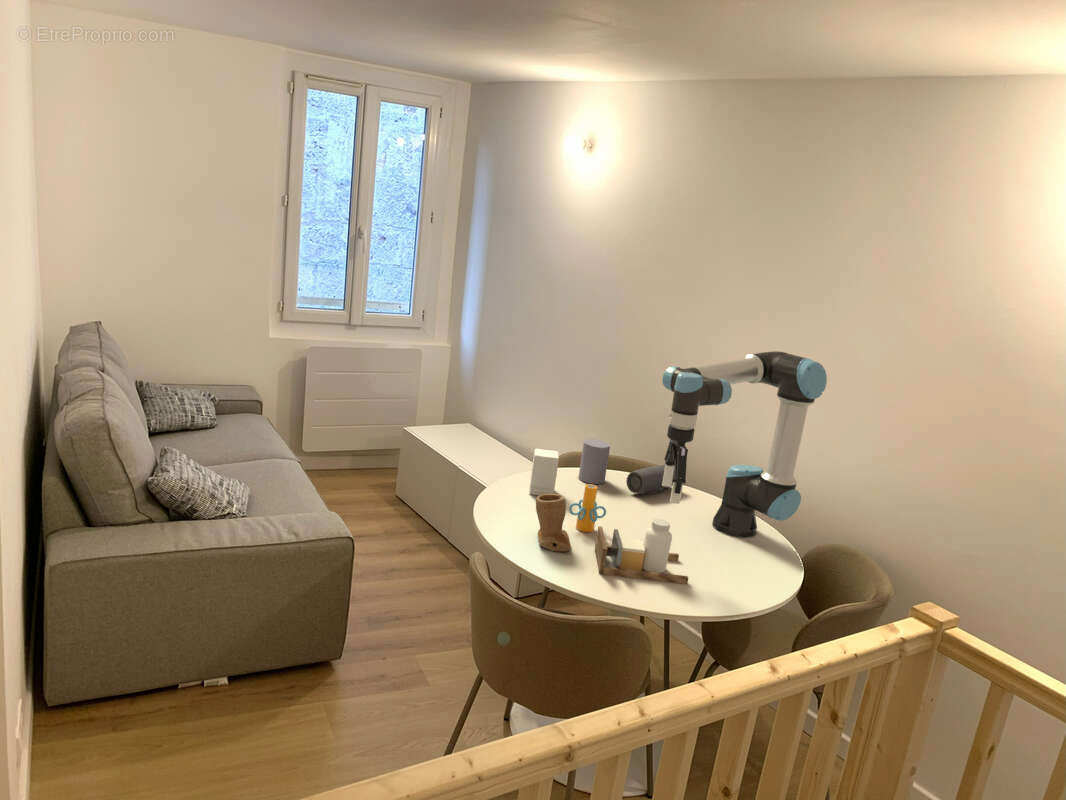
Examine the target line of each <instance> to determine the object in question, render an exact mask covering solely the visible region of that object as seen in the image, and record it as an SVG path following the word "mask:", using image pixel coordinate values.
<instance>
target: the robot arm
mask: <svg viewBox="0 0 1066 800" xmlns="http://www.w3.org/2000/svg"><path fill="white" fill-rule="evenodd" d="M827 376H828V375H827V371H826V369H825V367H824V366H823V365H822V364H821V363H820V362H818V361H815V360H813V359H811V358H808V357H804V356H800V355H796V354H791V353H788V352H785V351H765V352H764V351H763V352H756V353H751V354H747V355H745V356H744V357H742V358H740V359H735V360H729V361H727V360H726V361H723V362H717V363H712V364H705V365H700V366H692V367H688V368H687V367H685V368H683V367H682V368H681V367H679V366H669V367H668V368H666V369H665V371H664V372H663V374H662V379H661V380H662V385H663V386H664V388H665V389H666V390H669V391H671V392H672V393H673V398H672V404H671V411H670V413H668V417H669V423H670V424H668V427H667V433H666V436H667V438H668V439H669V443H668V446H667V449H666V451H665V456H664V465H665V464H666V465H665V470H664V476H663V482H662V486H667V488H671V493H670V499H669V503H670V504H677V505H679V504H680V502H681V496H682V492H683V491H682V490H683V485H684V484H686V482H687V481H686V479H687V477H686V476H687V465H688V464H687V463H688V462H687V461H688V460H687V459H688V452H689V450H688V448H687V447H686V443H691V442H693V440H694V436H695V435H694V434H695V431H696V430H695V428H696V426H697V418H698V411H699V407H701V406H702V407H703V406H719V405H723V404H727V403H728V402H729V401H730V399H732V394H733V389H732V388H733V387H732V386H731V385H736V384H740V383H741V384H742V383H746V382H747V383H749V384H759V383H760V384H766V385H768V386H771V387H775V388H777V394H776V397H777V398H778V399H779V401H780V404H779V408H778V414H777V418H776V423H775V427H774V432H773V436H772V441H771V447H770V451H769V457H768V461H767V467H766V470H763V468H761V467H759V466H756V465H750V464H734V465H731V466H729V468H728V470H727V474H726V477H725V483H724V488H723V489H724V490H723V494H722V500H721V504H720V506H719V508H718V510H716V512H715V515H714V516H713V518H712V524H711V525H712V527H713V528H714V529H716V530H717V531H719V532H720V533H723V534H724V535H728V536H732V537H737V538H751V537H754V536H755V535H756V534H757V529H758V524H757V517H756V511H757V512H759V513H760V514H763V515H765V516H767V517H768V518H769V519H774V520H775V521H780V522H782V521H783V522H784V521H786V520H788V519H790V518H791V517H792V516H793V515H794V514H796V512H797V510H798V509H799V507H800V505H801V501H802V495H801V493H800V492H799V491H798V490H797V489H796V487H797V483H798V482H797V479H796V478H795V477H794V473H795V469H796V464H797V459H798V455H799V450H800V446H801V442H802V437H803V432H804V427H805V422H806V418H807V413H808V409H809V406H811V405H812V404H814V403H815V400H816V399H818V398H820V397H821V396H822V395H823V392H824V391H825V390H826V388H827V387H826V386H827V382H828V378H827ZM672 465H675V479H673V473H674V466H672ZM679 478H680V479H679ZM672 479H673V480H672ZM672 482H673V486H671V485H672Z"/></svg>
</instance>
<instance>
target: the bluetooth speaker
mask: <svg viewBox="0 0 1066 800" xmlns="http://www.w3.org/2000/svg"><path fill="white" fill-rule="evenodd" d="M665 465H666V464H665V463H664V464H661V465H659V464H658V465H654V466H649V467H648V466H647V467H645V468H640V469H637V470H634V471H633V470H632V471H631V472H630V473H629V474H628V475H627V477H626V480H625V482H626V486H627V489H628V490H629V491H630V492H631V493H633V494H644V495H652V494H656V493H659V492H661V491H662V490H664V489H667V488H668V487H667V486H662V482H663V476H664V470H665ZM672 466H674V473H673V479H675V465H672ZM673 479H672V480H673ZM679 479H681V478H679ZM672 486H673V482H672V485H671V487H672Z"/></svg>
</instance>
